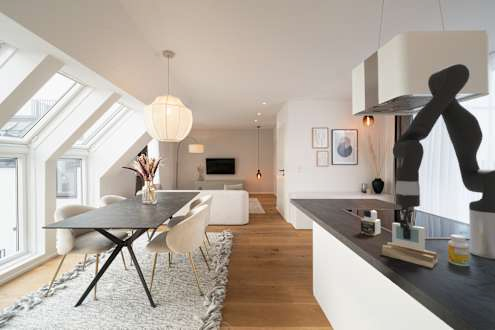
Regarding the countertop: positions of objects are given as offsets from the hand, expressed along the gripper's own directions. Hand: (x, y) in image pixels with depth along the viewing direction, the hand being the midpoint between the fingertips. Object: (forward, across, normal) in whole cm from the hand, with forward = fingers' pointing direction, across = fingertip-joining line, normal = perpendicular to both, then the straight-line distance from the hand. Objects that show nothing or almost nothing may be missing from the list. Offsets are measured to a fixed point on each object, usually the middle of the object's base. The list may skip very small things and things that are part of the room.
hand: (407, 238), depth 88 cm
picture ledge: (+8, 0, 0) cm, 8 cm away
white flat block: (+3, 0, 0) cm, 3 cm away
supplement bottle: (+8, -8, +13) cm, 17 cm away
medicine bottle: (+8, -23, -23) cm, 33 cm away
